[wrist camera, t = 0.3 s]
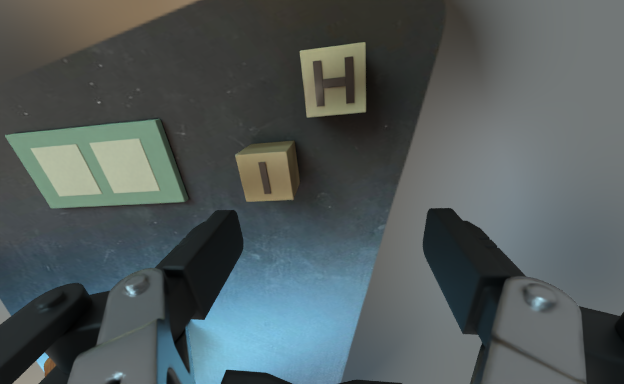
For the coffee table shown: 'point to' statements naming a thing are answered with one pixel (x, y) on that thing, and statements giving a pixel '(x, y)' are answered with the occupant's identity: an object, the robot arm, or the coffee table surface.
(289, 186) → the tan cube
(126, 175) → the word board
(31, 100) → the coffee table surface
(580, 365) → the robot arm
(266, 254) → the coffee table surface
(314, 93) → the light wooden cube
